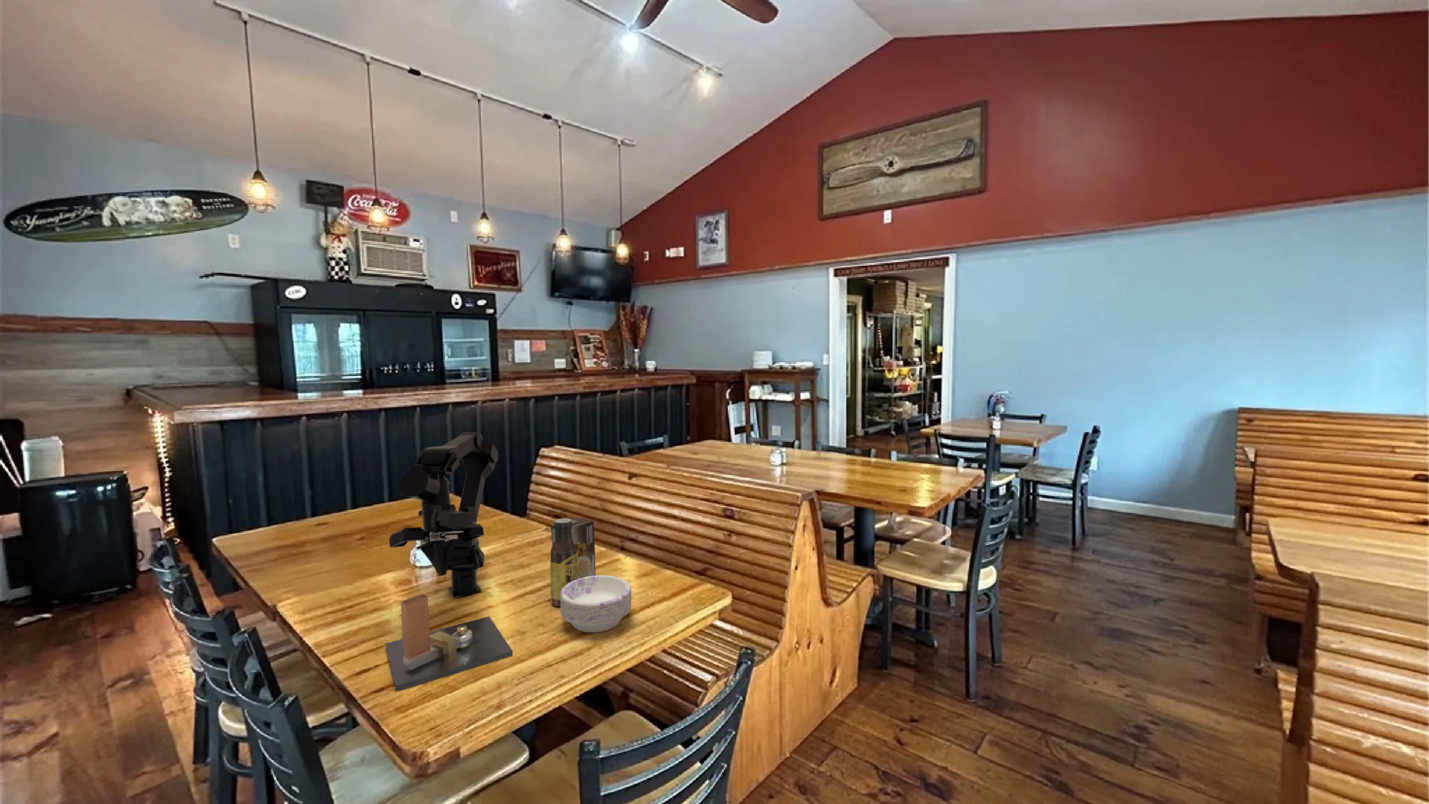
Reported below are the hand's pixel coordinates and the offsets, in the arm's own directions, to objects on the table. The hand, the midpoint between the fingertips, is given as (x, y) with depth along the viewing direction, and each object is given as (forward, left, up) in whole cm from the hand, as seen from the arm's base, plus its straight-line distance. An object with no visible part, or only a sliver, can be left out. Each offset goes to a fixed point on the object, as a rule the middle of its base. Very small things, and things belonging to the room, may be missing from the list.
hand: (442, 575), depth 120 cm
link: (+12, -3, -11) cm, 16 cm away
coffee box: (-7, +32, -13) cm, 35 cm away
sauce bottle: (+2, +26, -13) cm, 29 cm away
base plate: (+10, -1, -12) cm, 16 cm away
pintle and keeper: (+12, -1, -12) cm, 17 cm away
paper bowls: (+16, +28, -13) cm, 34 cm away
